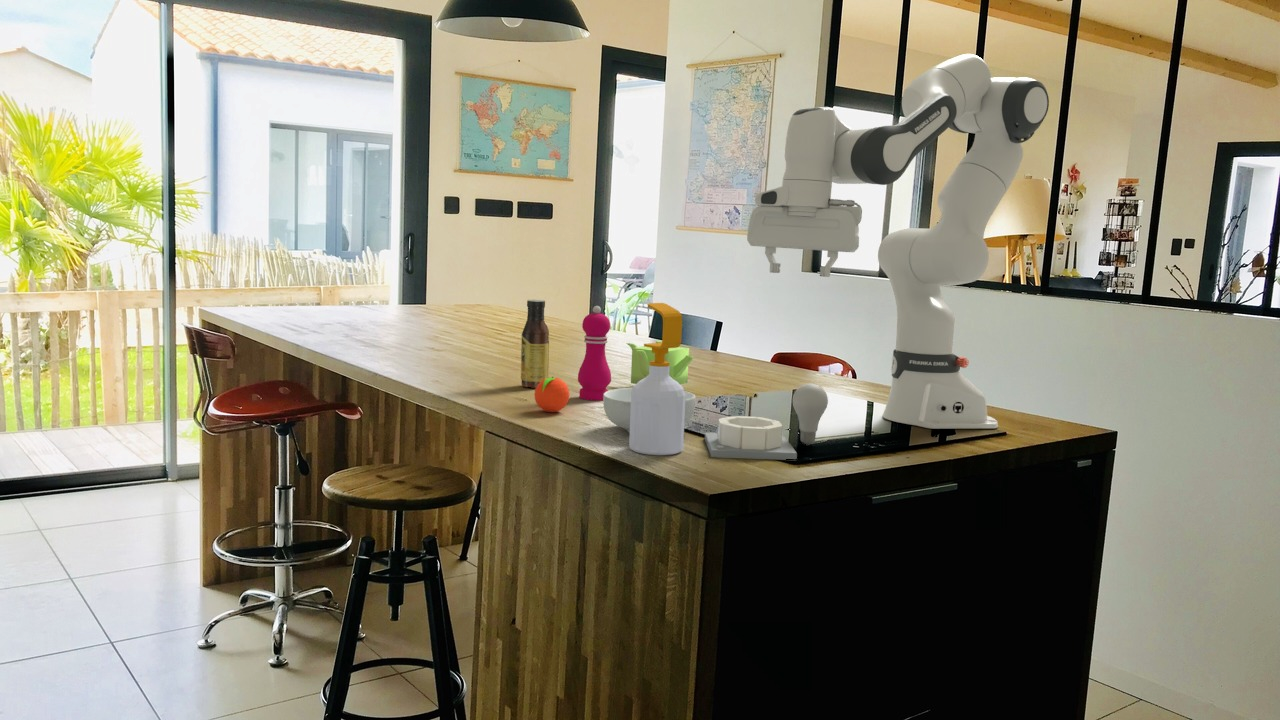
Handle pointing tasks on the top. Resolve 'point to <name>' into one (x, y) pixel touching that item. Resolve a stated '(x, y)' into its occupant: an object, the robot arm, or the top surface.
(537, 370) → the sauce bottle
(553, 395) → the clementine
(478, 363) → the top surface
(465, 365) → the top surface
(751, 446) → the socket ring
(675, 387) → the soap bottle
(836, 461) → the top surface
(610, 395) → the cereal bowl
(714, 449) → the mounting plate
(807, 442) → the lightbulb
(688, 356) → the kettle
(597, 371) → the pepper mill
